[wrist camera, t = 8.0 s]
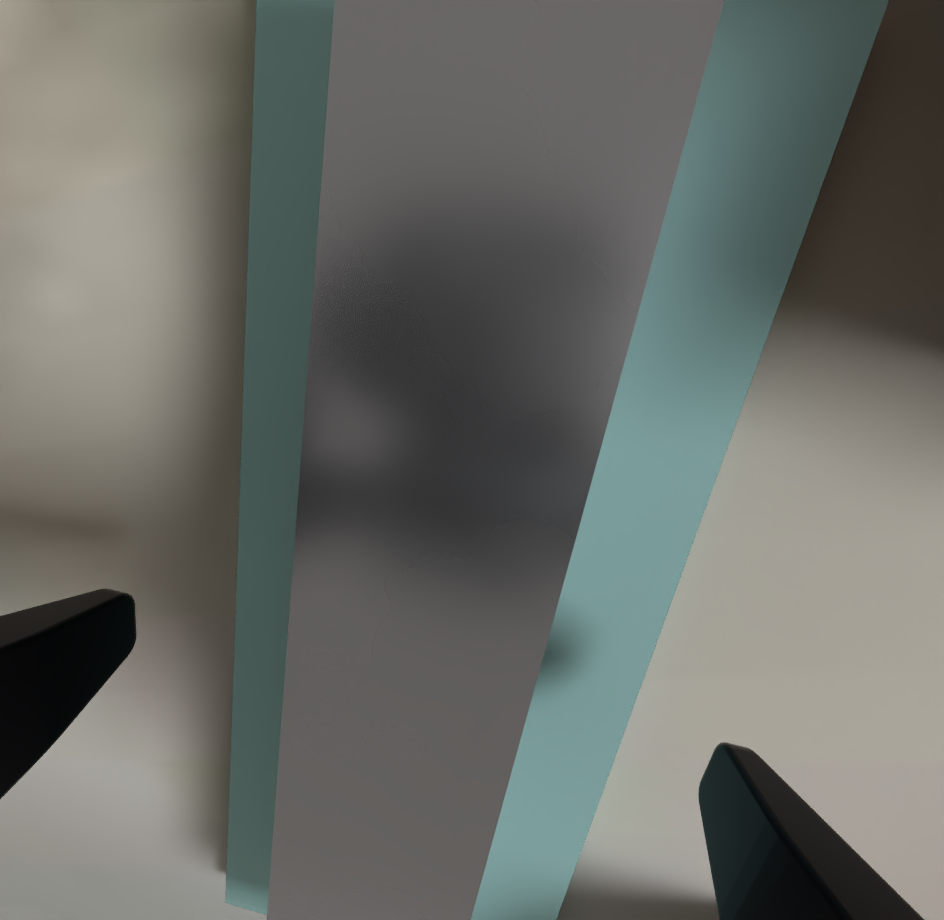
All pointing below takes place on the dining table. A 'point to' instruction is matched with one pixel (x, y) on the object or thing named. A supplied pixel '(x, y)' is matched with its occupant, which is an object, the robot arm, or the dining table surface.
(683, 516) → the mat
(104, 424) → the dining table surface
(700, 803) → the robot arm
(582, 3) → the rail
